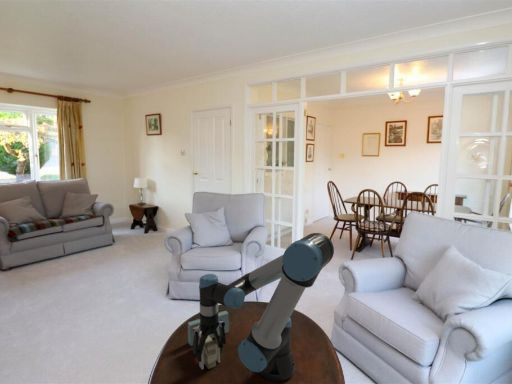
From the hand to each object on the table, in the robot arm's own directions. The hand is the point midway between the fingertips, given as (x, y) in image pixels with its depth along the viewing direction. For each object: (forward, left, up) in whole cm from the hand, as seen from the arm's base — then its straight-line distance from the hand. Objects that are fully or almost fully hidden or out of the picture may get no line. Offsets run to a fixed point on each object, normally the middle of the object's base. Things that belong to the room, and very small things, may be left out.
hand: (209, 364), depth 126 cm
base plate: (+18, -8, 0) cm, 20 cm away
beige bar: (+6, 0, 0) cm, 6 cm away
